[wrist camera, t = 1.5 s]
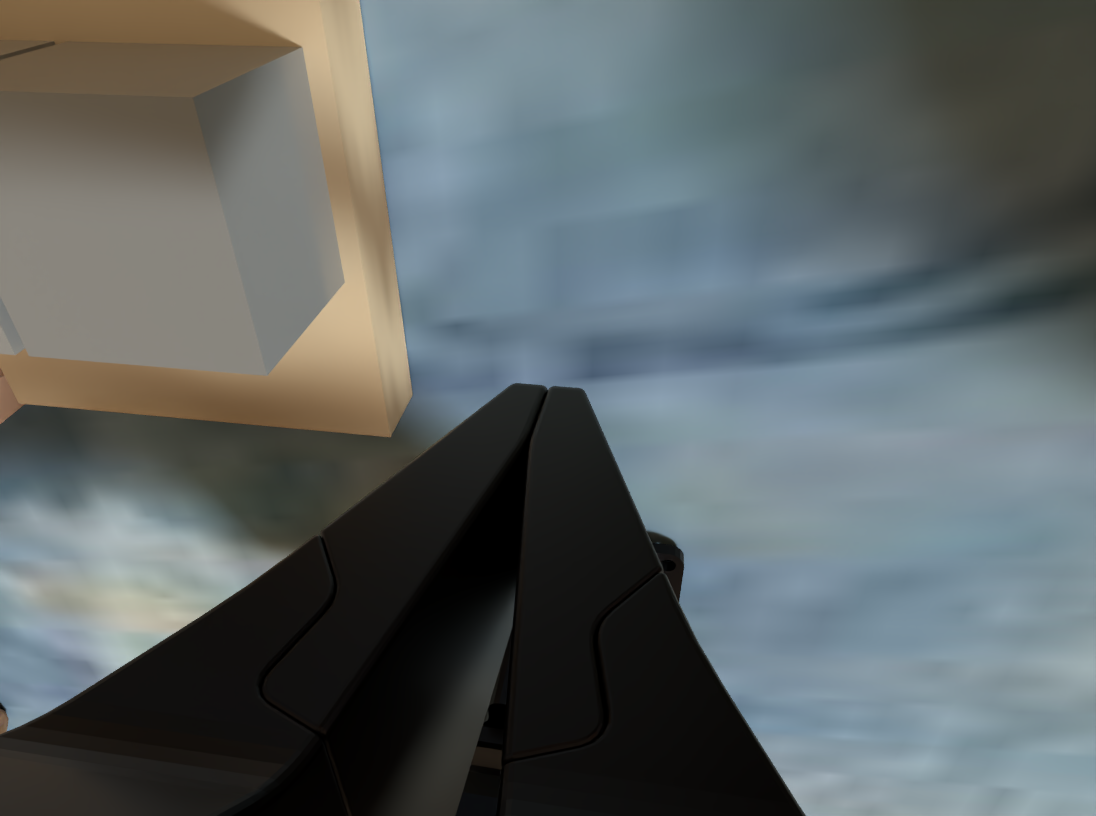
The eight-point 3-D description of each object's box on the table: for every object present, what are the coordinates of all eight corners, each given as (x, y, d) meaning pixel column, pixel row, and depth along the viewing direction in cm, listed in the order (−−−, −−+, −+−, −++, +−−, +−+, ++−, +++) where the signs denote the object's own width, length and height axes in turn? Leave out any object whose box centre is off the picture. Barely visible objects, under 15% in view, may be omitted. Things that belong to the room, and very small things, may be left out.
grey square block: (344, 282, 17) (267, 375, 14) (146, 269, 18) (29, 356, 15) (302, 47, 14) (192, 97, 11) (67, 40, 15) (-100, 88, 12)
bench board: (412, 394, 22) (390, 437, 20) (65, 366, 23) (18, 403, 21) (326, -249, 13) (276, -266, 12) (-205, -234, 15) (-315, -247, 13)
